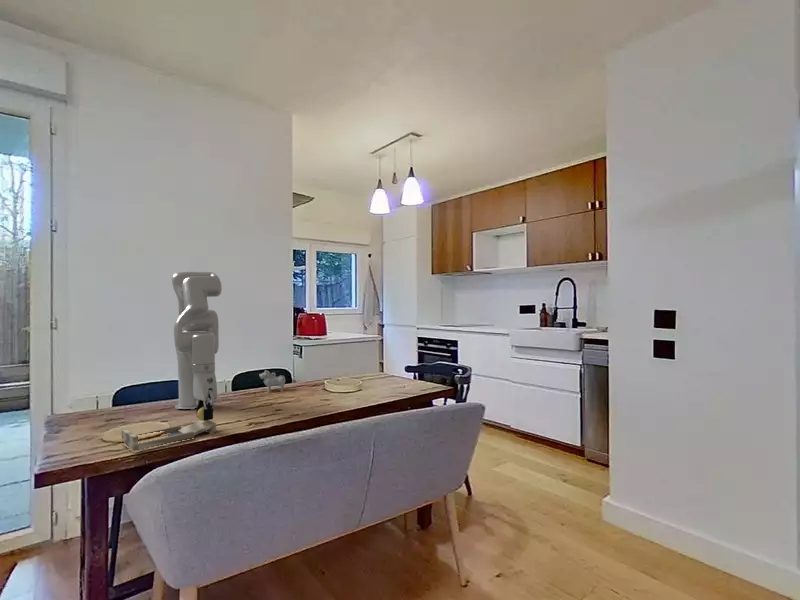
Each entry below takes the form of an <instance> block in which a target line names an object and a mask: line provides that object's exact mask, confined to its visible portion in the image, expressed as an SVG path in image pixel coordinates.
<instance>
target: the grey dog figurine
mask: <svg viewBox="0 0 800 600" xmlns="http://www.w3.org/2000/svg"><path fill="white" fill-rule="evenodd" d="M258 375H259V378H260V379H261V380H263V383H264V385H265V386H267V391H266V392H267V393H270V392H271V388H272V386H273V387H274V386H276V387H280V392H284V387H285V383H286V377H285V375H279V376H276V372H272V373H271V372H270V371H269V370H264V372H262V373H259V374H258Z"/></svg>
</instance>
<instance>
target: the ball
mask: <svg viewBox="0 0 800 600" xmlns="http://www.w3.org/2000/svg"><path fill="white" fill-rule="evenodd" d="M203 409H205V408H204V407H202V408H200V409H199V410H198V412H197V411H196V418H197V417H198V421H200V420H201V421H204V413H203ZM206 421H207V420H206Z"/></svg>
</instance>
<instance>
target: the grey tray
mask: <svg viewBox="0 0 800 600" xmlns="http://www.w3.org/2000/svg"><path fill="white" fill-rule="evenodd" d="M181 428H182V426H181V425H174V426H169V427H165V428H160V429H156V430H152V431H148V432H147V431H146V432H141V433H138V434H135V433H132V432H131V431H129V430H127V429H121V440H122V439H123V442H124V443H125V444H126V445H127V446H128V447H130V448H131V449H132V450H134V451H135V450H140V449H144V448H149V447H154V446H157V445H161V444H166V443H170V442H174V441H180V440H183V439H184V440H185V439H186V440H187V439H192V438H194V439H195V435H194V432H193V431H192V432H187V433H183V434H179V435H174V436H170V437H165V438H161V439H157V440H152V441H148V442H143V443H139V444H138V436H137V435H142V434H147V433H153V432H160V431H165V434H167V433H172V432H177V430H179V429H181ZM191 437H192V438H191Z"/></svg>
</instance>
